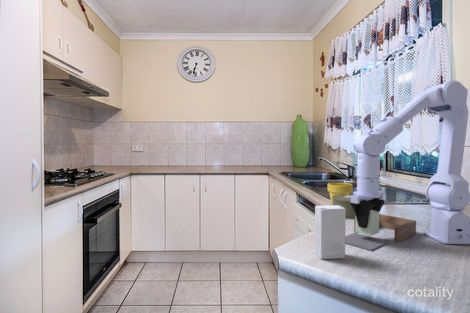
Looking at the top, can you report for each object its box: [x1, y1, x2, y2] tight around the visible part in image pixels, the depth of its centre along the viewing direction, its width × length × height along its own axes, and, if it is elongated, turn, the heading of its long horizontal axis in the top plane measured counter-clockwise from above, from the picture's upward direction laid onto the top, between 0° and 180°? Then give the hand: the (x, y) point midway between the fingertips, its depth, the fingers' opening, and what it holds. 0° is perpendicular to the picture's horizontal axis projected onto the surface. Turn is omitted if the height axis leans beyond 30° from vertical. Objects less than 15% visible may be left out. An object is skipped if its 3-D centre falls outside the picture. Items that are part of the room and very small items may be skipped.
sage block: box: [354, 210, 380, 237], centre depth 82 cm, size 4×4×6 cm
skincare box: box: [314, 204, 346, 260], centre depth 70 cm, size 6×4×12 cm
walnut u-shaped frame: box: [353, 213, 417, 243], centre depth 88 cm, size 13×13×4 cm
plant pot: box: [327, 182, 353, 205], centre depth 128 cm, size 10×10×10 cm
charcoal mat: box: [345, 232, 390, 252], centre depth 80 cm, size 10×10×1 cm
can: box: [331, 195, 356, 220], centre depth 110 cm, size 12×12×7 cm
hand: (367, 225), depth 82 cm, fingers closed on sage block, 4 cm apart
